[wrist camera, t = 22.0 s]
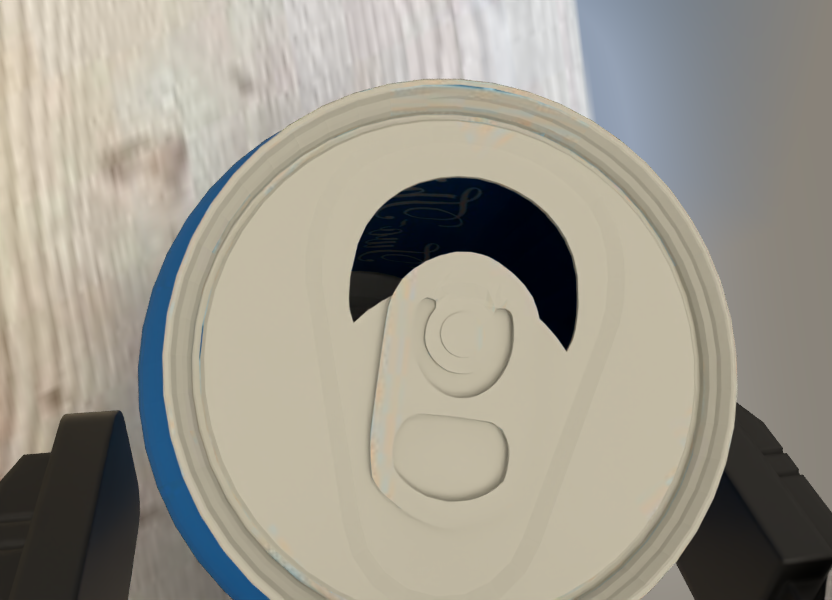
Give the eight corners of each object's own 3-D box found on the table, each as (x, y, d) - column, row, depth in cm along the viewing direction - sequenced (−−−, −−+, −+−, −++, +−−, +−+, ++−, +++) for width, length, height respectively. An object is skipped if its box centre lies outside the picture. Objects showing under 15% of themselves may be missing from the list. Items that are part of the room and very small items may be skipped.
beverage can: (497, 296, 20) (785, 98, 8) (473, 556, 19) (772, 744, 7) (244, 260, 19) (177, -17, 8) (201, 530, 18) (40, 695, 6)
